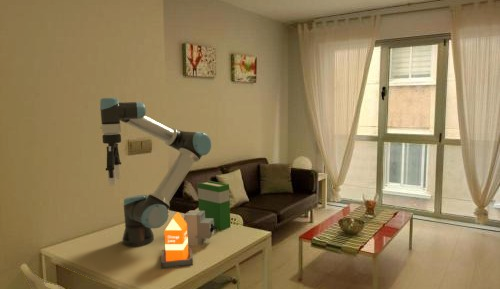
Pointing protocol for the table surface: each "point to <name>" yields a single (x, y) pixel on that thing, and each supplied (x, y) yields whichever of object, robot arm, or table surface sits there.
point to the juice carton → (176, 239)
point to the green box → (215, 203)
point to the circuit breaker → (198, 227)
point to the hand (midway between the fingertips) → (114, 182)
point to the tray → (176, 262)
